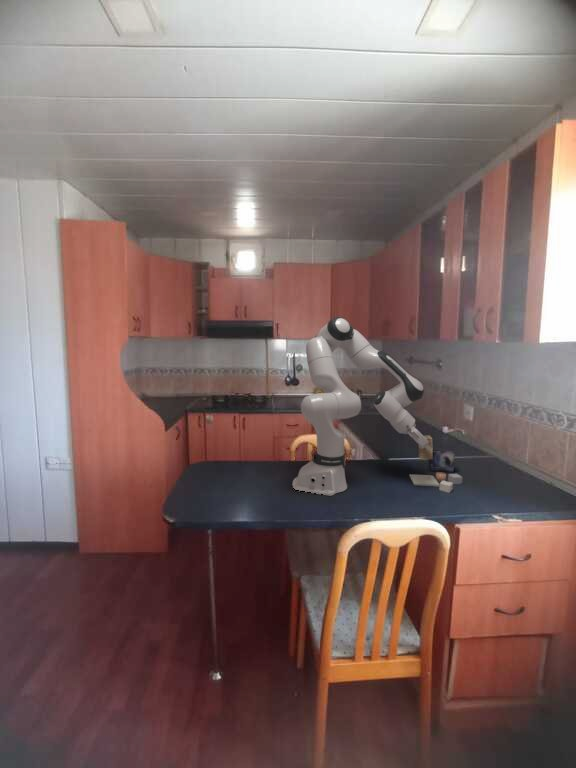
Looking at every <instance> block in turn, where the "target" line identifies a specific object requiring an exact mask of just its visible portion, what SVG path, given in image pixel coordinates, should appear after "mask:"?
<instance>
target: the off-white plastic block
mask: <svg viewBox="0 0 576 768" xmlns="http://www.w3.org/2000/svg"><path fill="white" fill-rule="evenodd" d="M453 487H454V484H453V483H451V482H449V481H448V480H446V481H442V482H439V486H438V488H439V489H438V490H439V491H442V492H445V493H451V492H452V491H453V489H454V488H453Z"/></svg>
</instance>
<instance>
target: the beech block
mask: <svg viewBox="0 0 576 768" xmlns="http://www.w3.org/2000/svg"><path fill="white" fill-rule="evenodd" d="M423 436H424V437H425V438H426V439H427V440H428V441H429V443H428V445H429V446H430V447H431V448H430V449H429V450H427V449H426V448H425V447H423V448H422V447H421V446H420V445H419V444H418V457H419V459H420V460H422V461H423V460H428V459H433V446H434V445H433V438H432V436H431V435H430V434H429V435H423Z"/></svg>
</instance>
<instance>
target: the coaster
mask: <svg viewBox="0 0 576 768" xmlns="http://www.w3.org/2000/svg"><path fill="white" fill-rule="evenodd" d="M409 478H410V479H411V482H412V483H413V485H414V486H421V487H422V486H423V487H424V486H425V487H439V486H440V482H438V481H436V477H435V476H434V475H430V474H413V473H412V474H409Z"/></svg>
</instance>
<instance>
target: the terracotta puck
mask: <svg viewBox="0 0 576 768" xmlns="http://www.w3.org/2000/svg"><path fill="white" fill-rule="evenodd" d="M435 479H436V481H437V482H438V483H441V482H442V481H447V474H446V472H437V471H436V473H435Z"/></svg>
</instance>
